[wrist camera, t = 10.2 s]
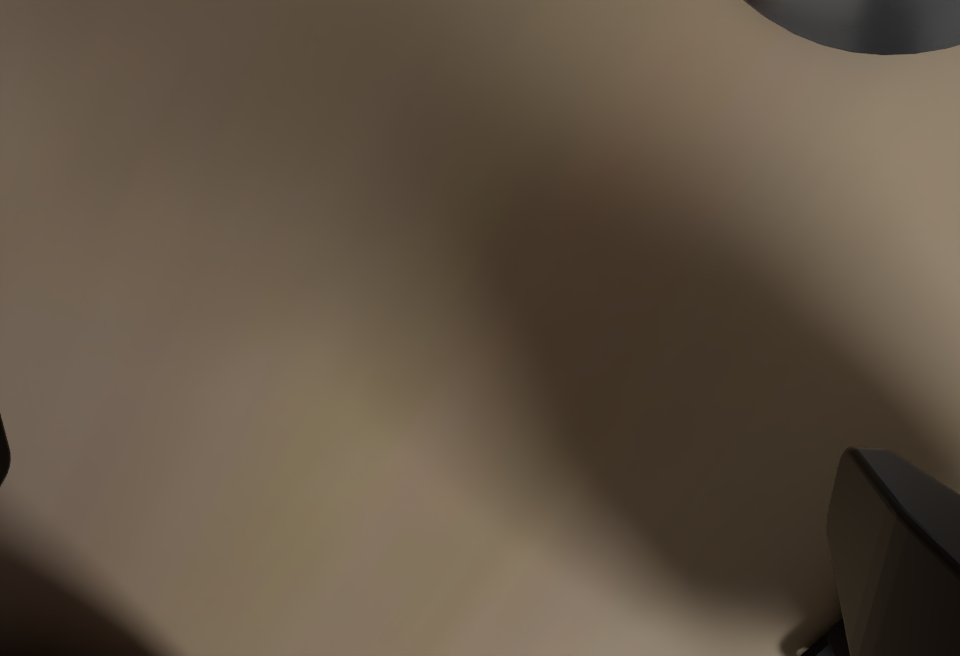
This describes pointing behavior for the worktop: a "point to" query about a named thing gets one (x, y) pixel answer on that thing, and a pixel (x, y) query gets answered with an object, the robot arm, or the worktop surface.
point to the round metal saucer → (869, 23)
